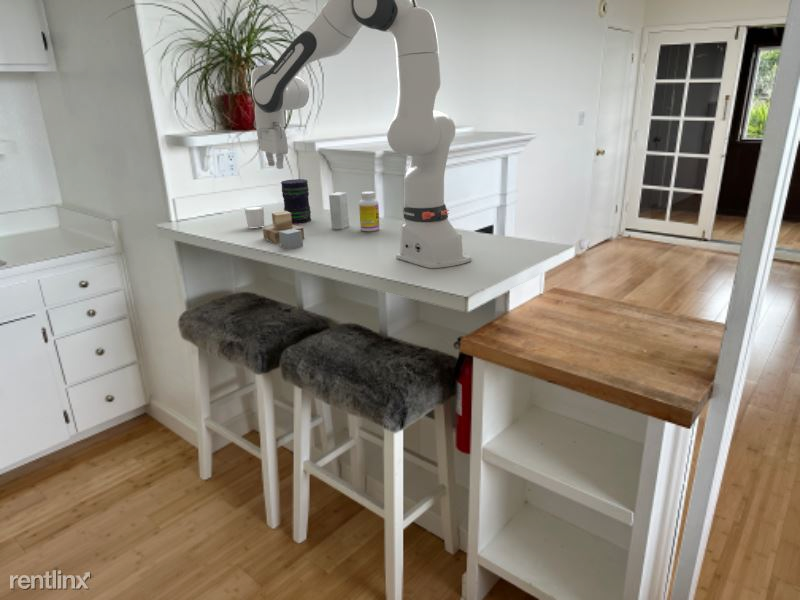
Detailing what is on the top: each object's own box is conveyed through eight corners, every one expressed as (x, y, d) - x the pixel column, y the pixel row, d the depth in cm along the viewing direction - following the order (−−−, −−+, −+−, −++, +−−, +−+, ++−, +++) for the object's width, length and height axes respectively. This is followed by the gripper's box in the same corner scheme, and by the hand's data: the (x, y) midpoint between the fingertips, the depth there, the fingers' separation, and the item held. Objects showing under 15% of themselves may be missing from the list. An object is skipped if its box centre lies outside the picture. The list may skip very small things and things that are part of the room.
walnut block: (304, 239, 187) (303, 227, 186) (276, 245, 181) (275, 232, 180) (291, 234, 195) (290, 223, 193) (264, 239, 189) (262, 228, 188)
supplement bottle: (379, 231, 192) (377, 193, 187) (359, 232, 192) (357, 194, 188) (380, 227, 198) (378, 190, 194) (361, 227, 198) (359, 191, 194)
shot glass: (261, 229, 203) (259, 209, 200) (243, 229, 204) (241, 209, 202) (268, 224, 209) (266, 206, 207) (251, 224, 210) (248, 206, 208)
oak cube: (292, 228, 186) (290, 212, 184) (277, 230, 183) (275, 215, 182) (287, 225, 190) (286, 210, 188) (273, 227, 188) (271, 212, 186)
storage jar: (282, 220, 216) (278, 180, 211) (307, 217, 219) (304, 178, 214) (288, 225, 207) (283, 184, 202) (314, 221, 211) (310, 181, 206)
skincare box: (338, 225, 204) (336, 191, 200) (349, 225, 202) (347, 192, 198) (331, 229, 199) (328, 194, 194) (342, 229, 197) (339, 195, 193)
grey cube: (302, 246, 177) (301, 230, 175) (289, 249, 174) (287, 233, 172) (294, 243, 181) (292, 228, 179) (280, 247, 177) (278, 231, 176)
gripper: (290, 121, 168) (295, 169, 172) (271, 120, 185) (276, 163, 190) (269, 123, 165) (275, 171, 170) (252, 121, 182) (257, 165, 187)
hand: (275, 167), depth 180 cm, fingers open, 8 cm apart
